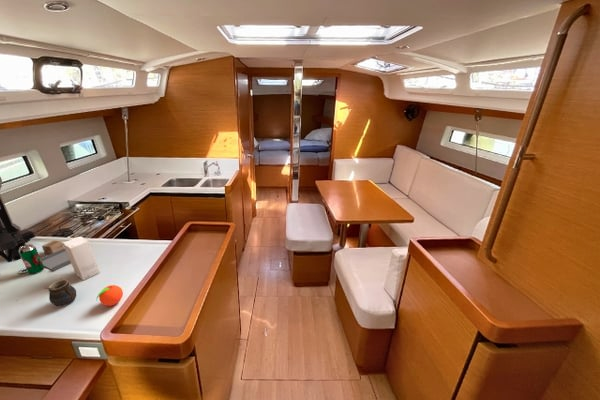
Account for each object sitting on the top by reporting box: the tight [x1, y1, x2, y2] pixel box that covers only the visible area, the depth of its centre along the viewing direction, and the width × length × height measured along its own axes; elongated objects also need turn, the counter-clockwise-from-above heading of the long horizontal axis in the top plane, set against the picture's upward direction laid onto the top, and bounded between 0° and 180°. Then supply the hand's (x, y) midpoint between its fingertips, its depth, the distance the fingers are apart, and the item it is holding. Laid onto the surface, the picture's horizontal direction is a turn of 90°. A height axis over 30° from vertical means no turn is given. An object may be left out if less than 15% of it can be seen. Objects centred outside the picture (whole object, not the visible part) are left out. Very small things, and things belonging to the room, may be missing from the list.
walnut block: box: [41, 240, 64, 256], centre depth 125 cm, size 5×5×5 cm
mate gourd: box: [44, 279, 77, 307], centre depth 94 cm, size 7×8×10 cm
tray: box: [40, 248, 72, 272], centre depth 121 cm, size 14×13×2 cm
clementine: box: [96, 284, 124, 307], centre depth 94 cm, size 8×7×7 cm
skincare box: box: [62, 235, 101, 281], centre depth 108 cm, size 8×7×16 cm
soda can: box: [18, 243, 45, 275], centre depth 111 cm, size 5×5×12 cm
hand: (10, 261), depth 105 cm, fingers closed
